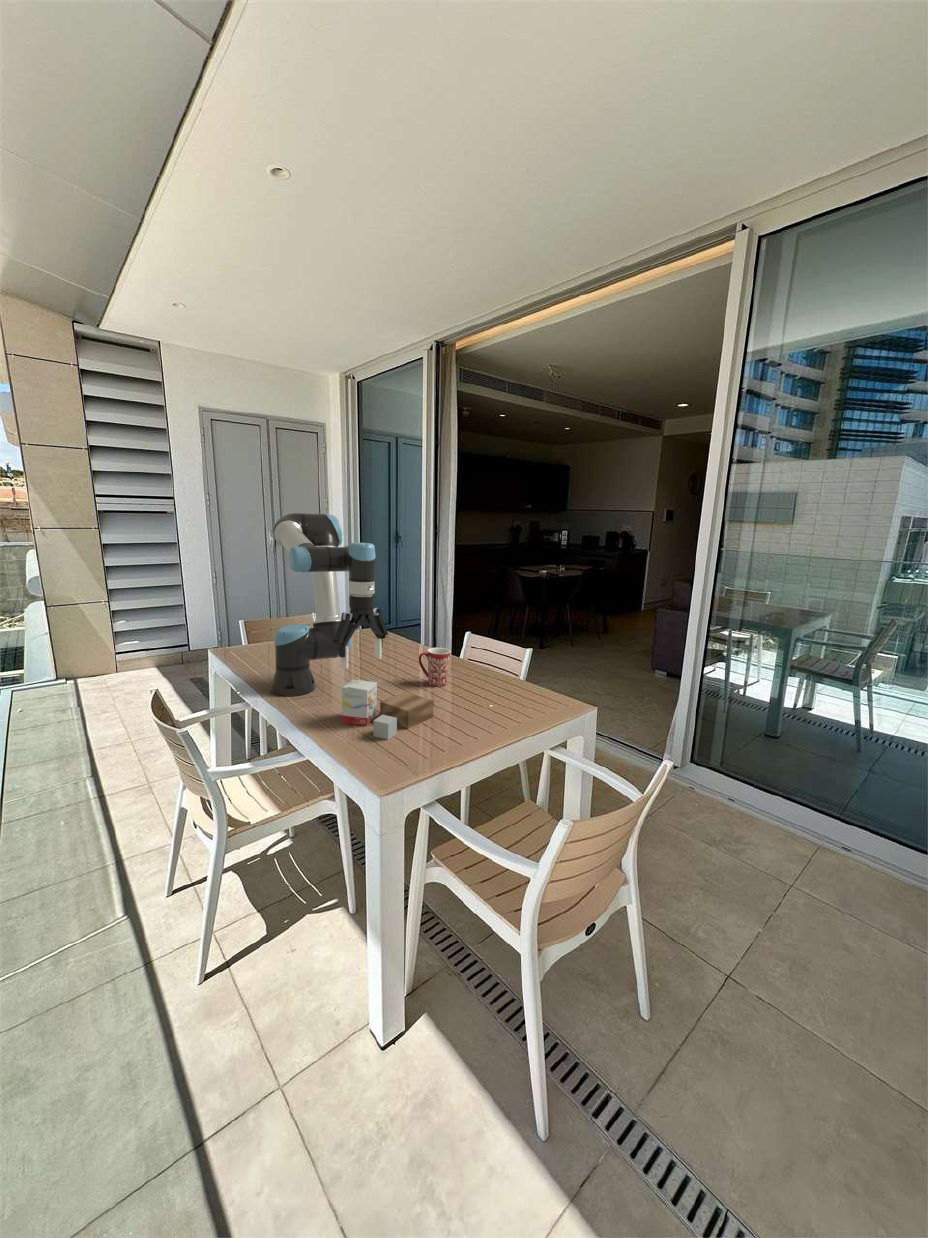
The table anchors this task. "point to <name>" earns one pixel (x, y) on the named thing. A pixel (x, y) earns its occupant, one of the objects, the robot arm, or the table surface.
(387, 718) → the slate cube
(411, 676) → the table surface
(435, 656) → the mug
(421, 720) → the walnut block
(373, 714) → the ink box
